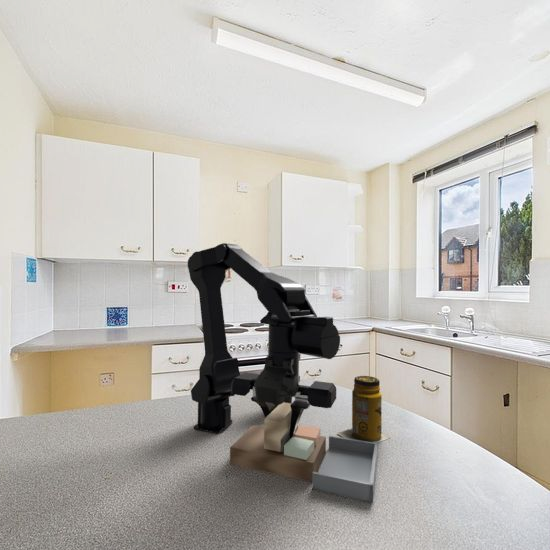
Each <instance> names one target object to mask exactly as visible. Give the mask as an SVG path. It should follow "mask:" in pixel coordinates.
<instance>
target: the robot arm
mask: <svg viewBox="0 0 550 550" xmlns="http://www.w3.org/2000/svg"><path fill="white" fill-rule="evenodd" d="M187 269H188V273H189V279H190V281H191V283H192V284H193V285H194V286H195V288H196V290H197V291H198V296H199V305H200V314H201V316H200V317H201V327H202V333H203V343H204V356H203V359H202V360H201V364H200V366H199V368H198V369H199V370H198V371H199V376H198V377H199V378H198V380H197V381H196V382H195V384H194V386H193V387H192V388H191V389H190V394H191V395H190V396H191V400H192V402H196V403H197V423H196V424H194V425H193V429H194V430H197V431H202V432H203V431H204V432H208V433H214V434H220V433H222V432H223V431H224V430H225V429H226V428H227V427H228V426H229V425H232V423H233V419H232V417H231V416H232V405H231V404H230V397H235V395H236V396H240V397H241V396H243V397H246V396H247V395H248V394H249V393H250V392H251V390H252V397H250V400H251V401H252V402H255V403H256V404H257V405H258V406H259V407H260V410H261V412H262V413H263V416H264V419H265V418H266V417H267V416H268V415H269V414H270V413H271V412H272V411H273V410H274V409H275V408H276V405H280V404H282V403H283V402H284V400H285V397H288V396H291V397H292V398H294V401H292V404H291V405H290V407H291V422H290V439H291V438H292V437H294V434H295V431H296V429H297V426H298V427H299V423H300V421H301V417H302V415H303V413H304V411H305V410H308V409H309V408H310V407H315V408H321V409H322V408H323V409H331V408H332V407H333V405H334V403H335V401H336V400H337V386H336V385H335V383H333V382H326V381H319V380H315V381H313V382H312V384H311V385H310V386H309V385H301V384H300V382H301V375H300V360H301V355H305V356H310V357H311V356H312V357H316V358H320V359H321V358H322V359H327V360H332V359H333V358H335V357H336V355H337V354H338V352H339V349H340V346H341V345H340V344H341V335H339V330H338V328H337V326H336V325H335V324H334V317H332V316H317V314H316V312H315V310H314V308H313V306H312V305H311V303H310V301H309V300H308V298H307V296H306V293H305V292H306V289H305V288H304V287H303V285H302V284H301V283H299V282H298V281H294V280H292V279H290V278H289V277H285V276H283V275H282V276H281V275H278V274H276V273H274V272H272V271H271V270H270V269H268V268H267V267H265V265H263V264H262V263H260V262H259V260H257V259H256V258H254V257H253V256H251V255H250V254H249V253H247V251H245V250H244V249H243V248H242V247H241V245H239V244H234V243H227V242H226V243H225V242H222V243H220V244H217V245H216V246H213V247H210V248H206V249H203V250H199V251H197V250H196V251H193V253H192V254H191V255H190V257H188V260H187ZM229 270H232V271H233V272H234V273H236V274H237V275H238V276H239V277H240V278H241V279H242V280H244V281H245V282H246V283H247V284H248V285H250V286H251V287H252V288H253V289H254V290H255V291H256V295H257V299H258V301H259V302H260V303H261V304H262V305H263V307H264V308H265V309H266V311H267V313H266V315H264V317H262V318H261V319H260V321H259V322H260V324H264V325H268V340H267V341H268V342H267V343H268V345H267V346H268V347H267V352H268V353H267V355H268V357H267V356H266V357H265V360H264V368H263V370H261V372H260V373H253V372H243V373H241V372H240V369H239V368H240V367H239V364H240V362H239V359H238V358H237V357H233V356H232V355H231V353H230V352H229V350H228V343H227V342H228V341H227V334H226V326H225V316H224V308H223V299H222V290H221V288H222V286H223V284H224V282H225V279H226V278H227V277H226V276H227V275H226V274H227V273H226V272H227V271H229Z"/></svg>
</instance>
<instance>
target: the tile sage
mask: <svg viewBox="0 0 550 550" xmlns="http://www.w3.org/2000/svg"><path fill="white" fill-rule="evenodd" d="M313 451H314V441H311V440H306V439H302V438H297V437H292V438H291V439H290V440H289V441H288V442H287V443H286V444H285V445H284V455H287V456H291V457H295V458H300V459H304V460H307V459H308V457H309V456H310V455H311V453H312V452H313Z"/></svg>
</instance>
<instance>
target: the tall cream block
mask: <svg viewBox="0 0 550 550" xmlns="http://www.w3.org/2000/svg"><path fill="white" fill-rule="evenodd" d="M290 405H291V403H284V402H283V403H282V404H280V405H278V406H277V407H276V408H275V409H274V410H273V411H272V412H271V413H270V414H269V415H268V416H267V417H266V418H265V417H264V424H263V425H264V426H263V427H264V449H269V450H273V451H278V452H283V451H284V445H285V444H286V443H287V442H288V441H289V440H290V422H291V407H290ZM298 427H299V425H298V426H297V429H298ZM297 429H296V431H297ZM296 431H295V433H296Z"/></svg>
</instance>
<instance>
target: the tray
mask: <svg viewBox="0 0 550 550" xmlns="http://www.w3.org/2000/svg"><path fill="white" fill-rule="evenodd" d="M378 445H379V442H378V443H373V442H367V441H361V440H355V439H348V438H343V437H342V436H337V435H335V436H334V435H329V436H328V448H327V450H326V454H325V456H324V458H323V461H322V463H321V465H320V468H319V470H318V472H313V473H312V482H311V484H312V486H311V487H312V489H311V490H312V491H317V492H320V493H321V492H322V493H327V494H330V495H335V496H339V497H344V498H347V499H348V498H349V499H354V500H358V501H363V502H365V503H371V504H373V503H374V496H375V495H374V494H375V486H376V477H377V467H378V459H379V458H378V457H379V455H378V454H379V446H378Z"/></svg>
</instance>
